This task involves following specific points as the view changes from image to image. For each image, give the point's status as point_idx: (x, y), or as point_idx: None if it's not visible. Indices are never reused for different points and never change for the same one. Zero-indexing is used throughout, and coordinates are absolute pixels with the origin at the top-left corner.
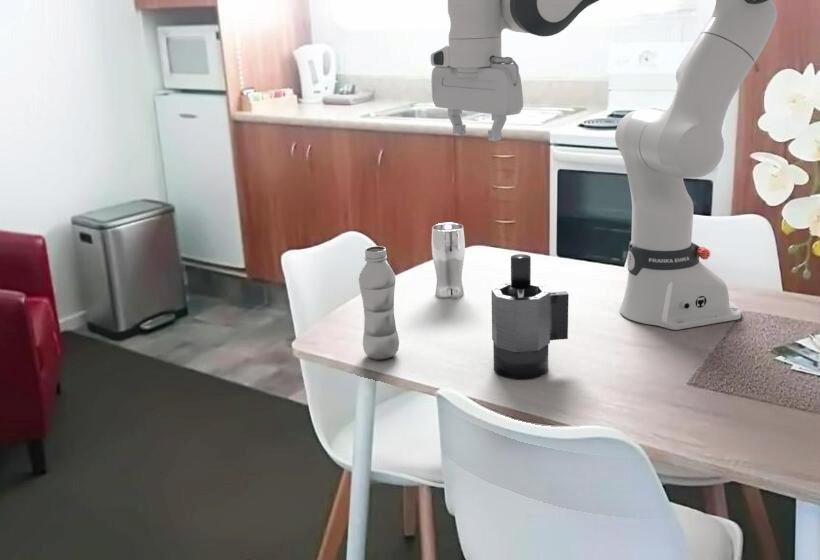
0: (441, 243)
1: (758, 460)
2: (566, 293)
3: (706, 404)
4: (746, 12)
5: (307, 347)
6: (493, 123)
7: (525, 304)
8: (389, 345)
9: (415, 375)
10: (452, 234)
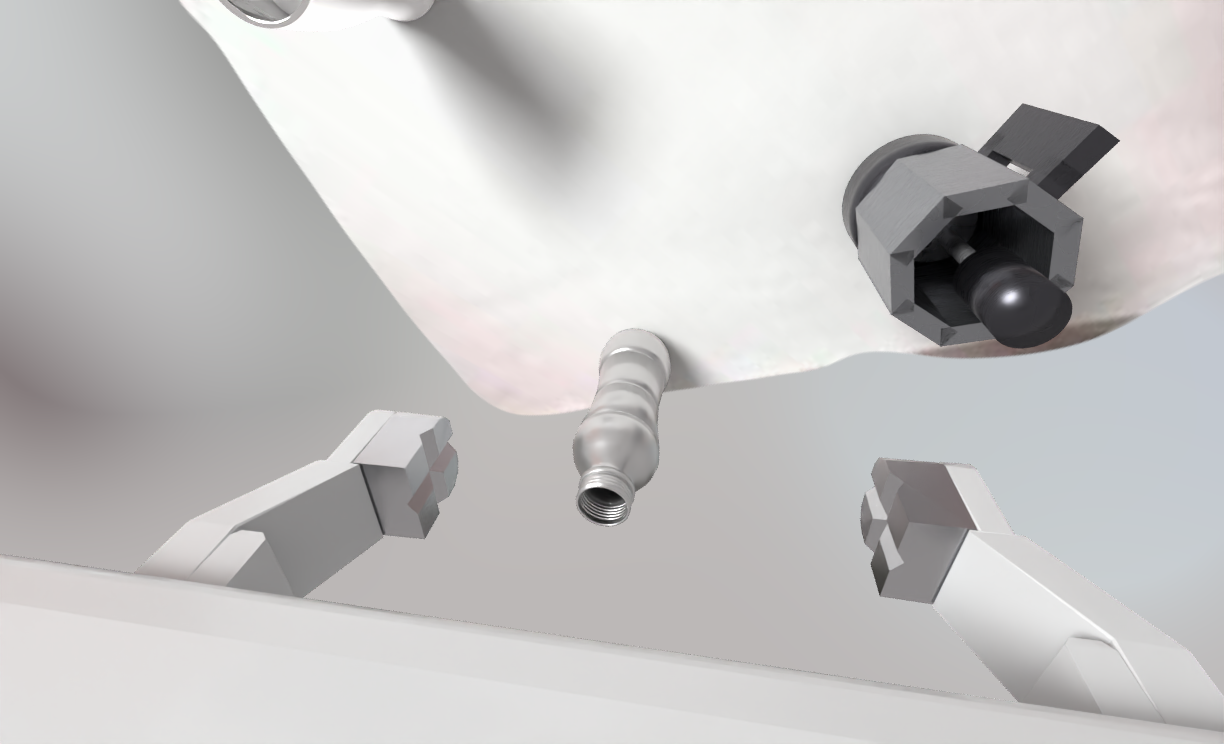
0: (330, 22)
1: None
2: (1109, 140)
3: None
4: None
5: (517, 408)
6: (1014, 691)
7: None
8: (669, 375)
9: (750, 361)
10: None
